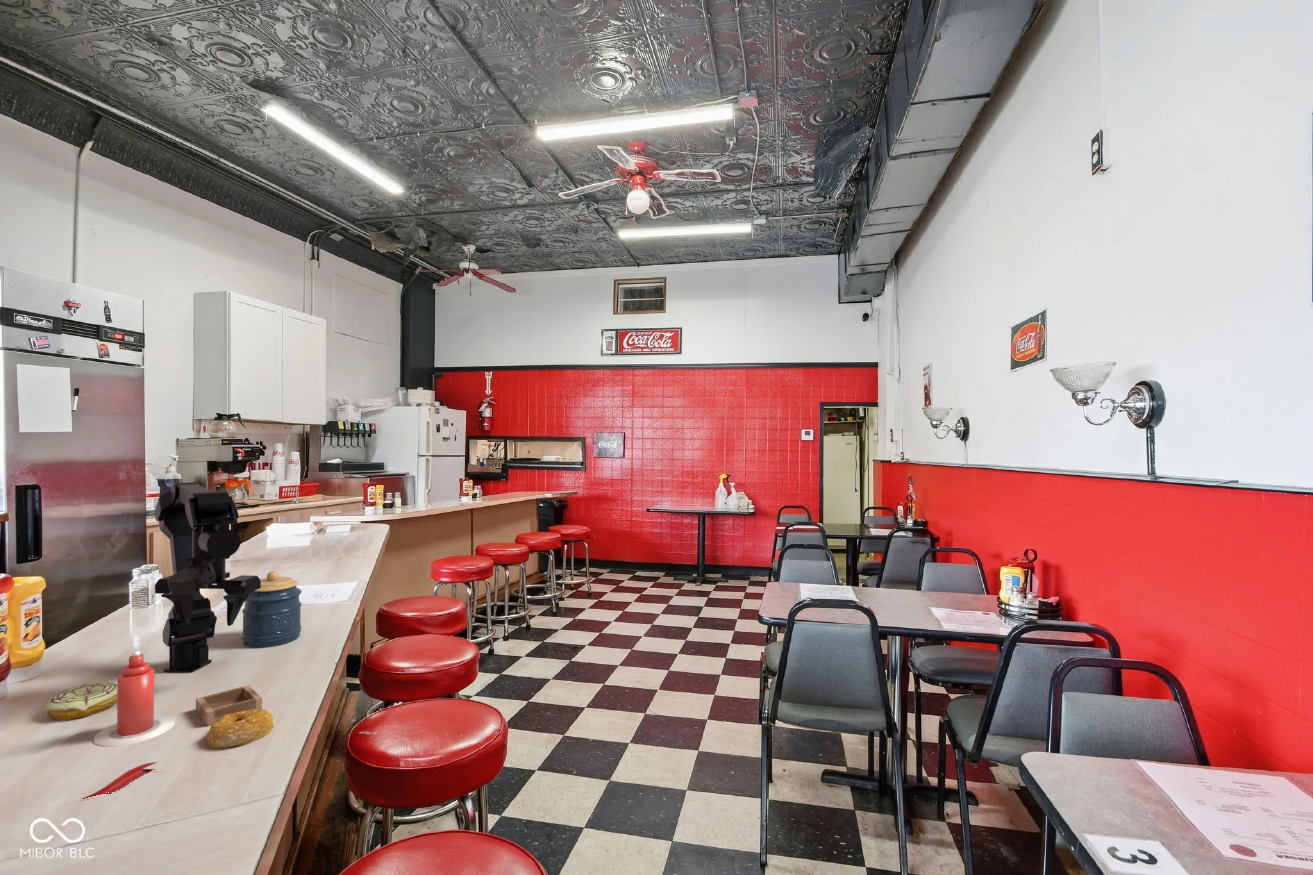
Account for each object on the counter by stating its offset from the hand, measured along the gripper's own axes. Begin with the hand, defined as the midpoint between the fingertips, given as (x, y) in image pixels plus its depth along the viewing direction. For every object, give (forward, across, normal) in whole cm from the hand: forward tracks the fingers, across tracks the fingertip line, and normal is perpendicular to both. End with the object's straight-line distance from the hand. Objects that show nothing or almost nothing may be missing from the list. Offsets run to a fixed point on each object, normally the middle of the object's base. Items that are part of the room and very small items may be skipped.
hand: (208, 625), depth 129 cm
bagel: (+14, +21, -20) cm, 32 cm away
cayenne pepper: (+14, +13, -34) cm, 39 cm away
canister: (+13, -5, +29) cm, 32 cm away
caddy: (+13, +13, -12) cm, 22 cm away
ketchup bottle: (+12, +2, -20) cm, 23 cm away
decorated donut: (+13, -16, -11) cm, 23 cm away
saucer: (+13, +2, -20) cm, 24 cm away
